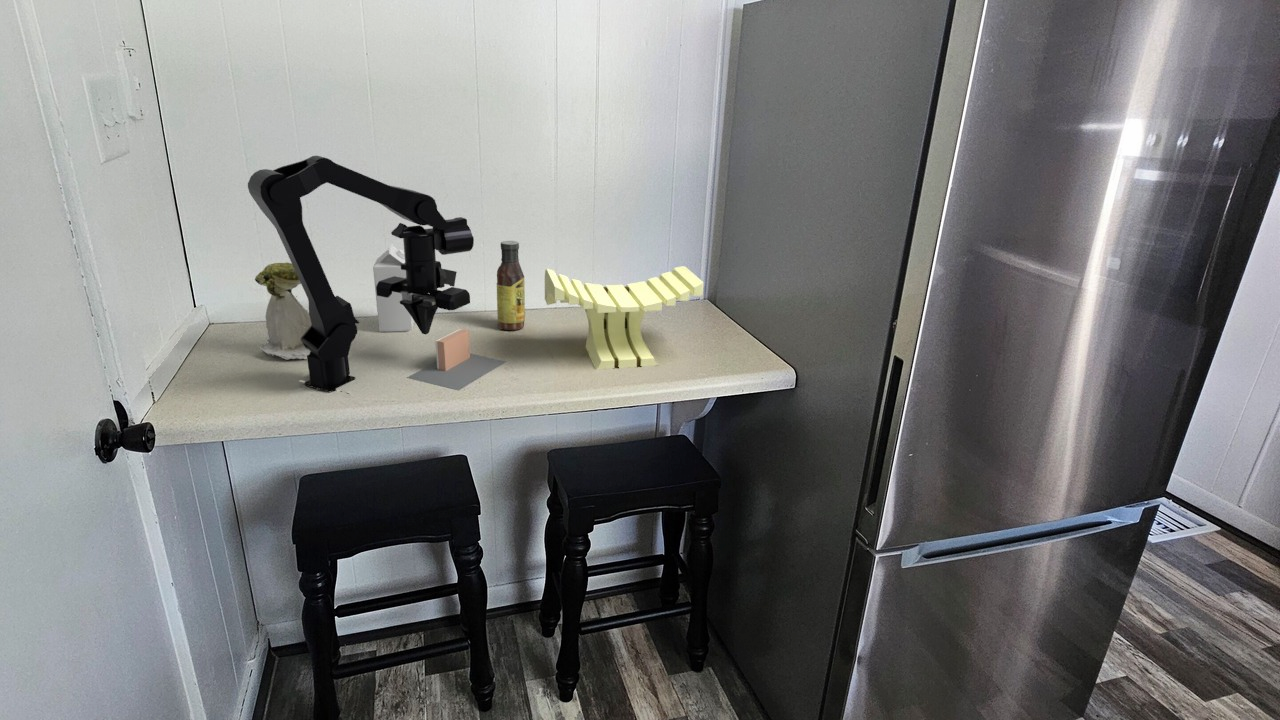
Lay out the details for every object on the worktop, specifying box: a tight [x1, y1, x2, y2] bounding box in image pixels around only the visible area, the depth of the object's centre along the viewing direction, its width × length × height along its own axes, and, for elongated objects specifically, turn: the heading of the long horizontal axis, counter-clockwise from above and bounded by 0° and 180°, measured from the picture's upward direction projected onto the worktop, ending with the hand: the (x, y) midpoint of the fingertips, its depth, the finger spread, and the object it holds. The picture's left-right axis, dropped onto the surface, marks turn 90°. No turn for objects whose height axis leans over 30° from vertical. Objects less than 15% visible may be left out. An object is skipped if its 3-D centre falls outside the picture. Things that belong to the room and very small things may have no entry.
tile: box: [435, 328, 471, 371], centre depth 142 cm, size 8×2×6 cm, turn 157°
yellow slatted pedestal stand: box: [544, 265, 705, 370], centre depth 150 cm, size 30×16×18 cm, turn 104°
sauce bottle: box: [496, 240, 526, 331], centre depth 162 cm, size 7×6×20 cm
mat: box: [406, 352, 507, 391], centre depth 141 cm, size 16×12×1 cm
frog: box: [254, 262, 312, 360], centre depth 143 cm, size 12×13×18 cm
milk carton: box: [372, 240, 416, 333], centre depth 159 cm, size 7×7×19 cm
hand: (425, 333), depth 143 cm, fingers closed
